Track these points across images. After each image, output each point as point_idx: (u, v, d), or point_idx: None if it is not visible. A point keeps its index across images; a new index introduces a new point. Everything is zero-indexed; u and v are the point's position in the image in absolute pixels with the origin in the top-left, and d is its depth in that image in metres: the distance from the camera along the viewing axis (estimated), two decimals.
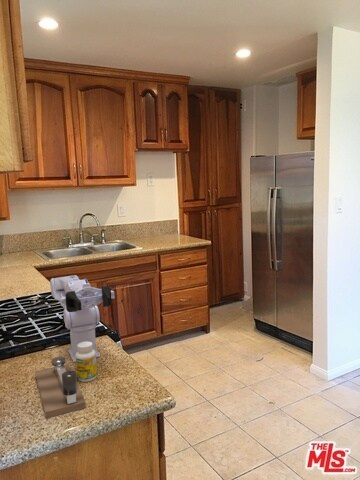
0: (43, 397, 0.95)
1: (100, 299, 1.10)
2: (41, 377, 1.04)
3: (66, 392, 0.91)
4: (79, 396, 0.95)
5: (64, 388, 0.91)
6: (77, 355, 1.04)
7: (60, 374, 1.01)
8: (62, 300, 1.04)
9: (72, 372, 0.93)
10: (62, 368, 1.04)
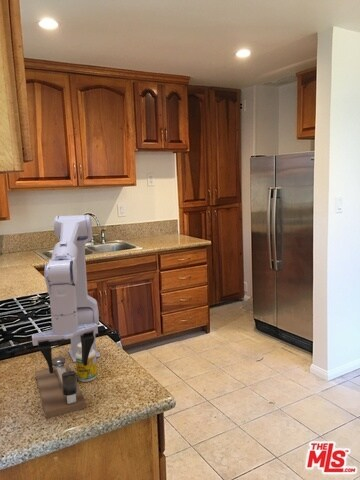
0: (43, 397, 0.95)
1: None
2: (41, 377, 1.04)
3: (66, 392, 0.91)
4: (79, 396, 0.95)
5: (64, 388, 0.91)
6: (77, 355, 1.04)
7: (60, 374, 1.01)
8: None
9: (72, 372, 0.93)
10: (62, 368, 1.04)
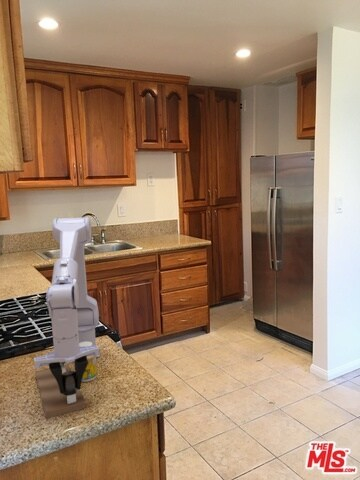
0: (43, 397, 0.95)
1: None
2: (41, 377, 1.04)
3: (66, 392, 0.91)
4: (79, 396, 0.95)
5: (64, 388, 0.91)
6: None
7: None
8: None
9: (72, 372, 0.93)
10: (62, 368, 1.04)
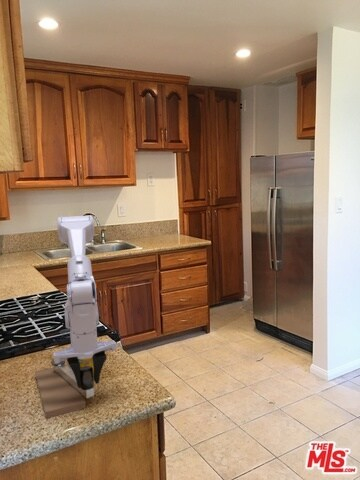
0: (43, 397, 0.95)
1: None
2: (41, 377, 1.04)
3: (85, 387, 0.93)
4: (79, 396, 0.95)
5: (83, 383, 0.93)
6: None
7: (67, 372, 1.02)
8: None
9: (88, 367, 0.95)
10: (65, 367, 1.05)
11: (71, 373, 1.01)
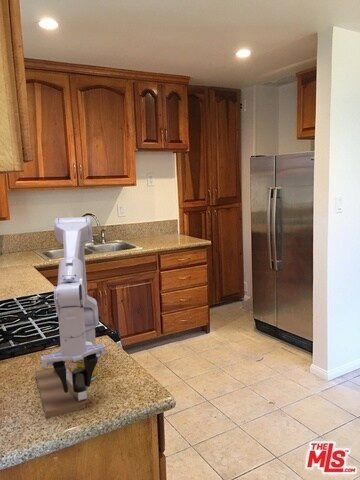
0: (43, 397, 0.95)
1: None
2: (41, 377, 1.04)
3: (77, 389, 0.92)
4: None
5: (75, 385, 0.92)
6: None
7: None
8: None
9: (81, 369, 0.94)
10: None
11: (68, 375, 1.01)
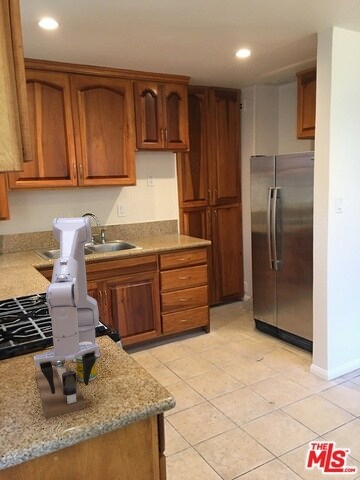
0: (43, 397, 0.95)
1: None
2: (41, 377, 1.04)
3: (66, 392, 0.91)
4: (79, 396, 0.95)
5: (64, 388, 0.91)
6: None
7: (60, 374, 1.01)
8: None
9: (72, 372, 0.93)
10: (62, 368, 1.04)
11: None
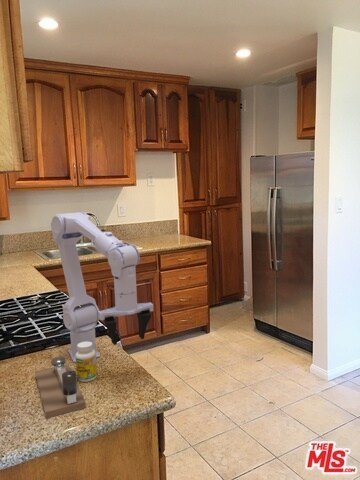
0: (43, 397, 0.95)
1: None
2: (41, 377, 1.04)
3: (66, 392, 0.91)
4: (79, 396, 0.95)
5: (64, 388, 0.91)
6: (77, 355, 1.04)
7: (60, 374, 1.01)
8: None
9: (72, 372, 0.93)
10: (62, 368, 1.04)
11: None
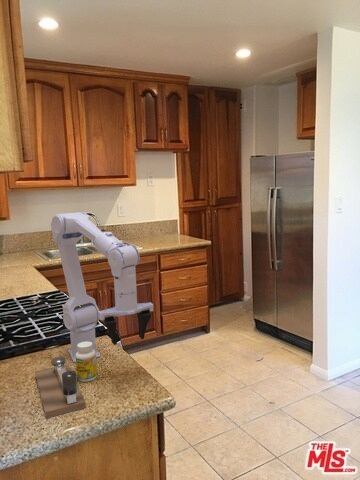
0: (43, 397, 0.95)
1: None
2: (41, 377, 1.04)
3: (66, 392, 0.91)
4: (79, 396, 0.95)
5: (64, 388, 0.91)
6: (77, 355, 1.04)
7: (60, 374, 1.01)
8: None
9: (72, 372, 0.93)
10: (62, 368, 1.04)
11: None
